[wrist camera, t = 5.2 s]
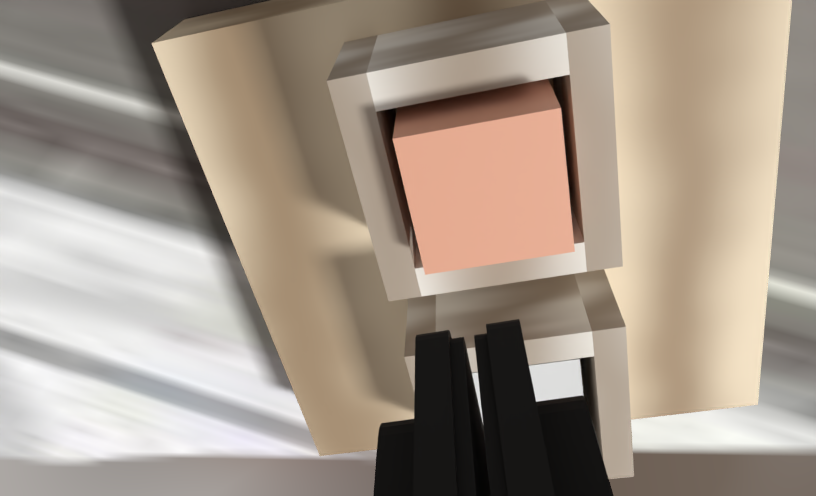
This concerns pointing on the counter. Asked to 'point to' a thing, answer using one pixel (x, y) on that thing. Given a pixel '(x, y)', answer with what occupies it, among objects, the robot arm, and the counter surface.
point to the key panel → (517, 280)
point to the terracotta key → (486, 176)
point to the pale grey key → (550, 380)
